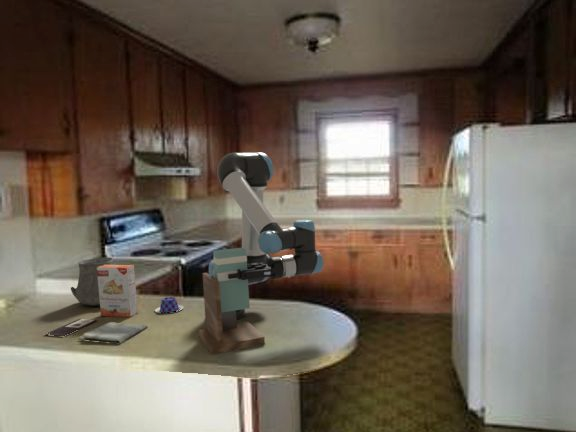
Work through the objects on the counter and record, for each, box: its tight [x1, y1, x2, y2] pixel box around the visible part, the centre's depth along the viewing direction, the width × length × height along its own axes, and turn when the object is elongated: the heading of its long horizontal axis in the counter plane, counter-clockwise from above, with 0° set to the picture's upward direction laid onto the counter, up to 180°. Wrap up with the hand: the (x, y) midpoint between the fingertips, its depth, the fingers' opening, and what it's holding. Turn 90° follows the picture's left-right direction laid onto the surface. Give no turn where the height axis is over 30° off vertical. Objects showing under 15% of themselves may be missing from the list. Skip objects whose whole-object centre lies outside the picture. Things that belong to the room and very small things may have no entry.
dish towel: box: [78, 321, 148, 345], centre depth 172 cm, size 19×18×3 cm
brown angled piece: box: [198, 272, 266, 356], centre depth 160 cm, size 18×18×22 cm
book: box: [212, 247, 250, 313], centre depth 158 cm, size 5×10×20 cm, turn 113°
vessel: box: [70, 256, 114, 307], centre depth 213 cm, size 22×22×20 cm
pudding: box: [154, 296, 185, 314], centre depth 199 cm, size 12×12×5 cm
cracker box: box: [97, 264, 139, 318], centre depth 194 cm, size 14×6×21 cm, turn 76°
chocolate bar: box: [45, 318, 99, 336], centre depth 181 cm, size 9×1×18 cm
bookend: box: [221, 310, 238, 330], centre depth 165 cm, size 9×3×7 cm, turn 113°
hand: (215, 275), depth 156 cm, fingers closed on book, 5 cm apart
